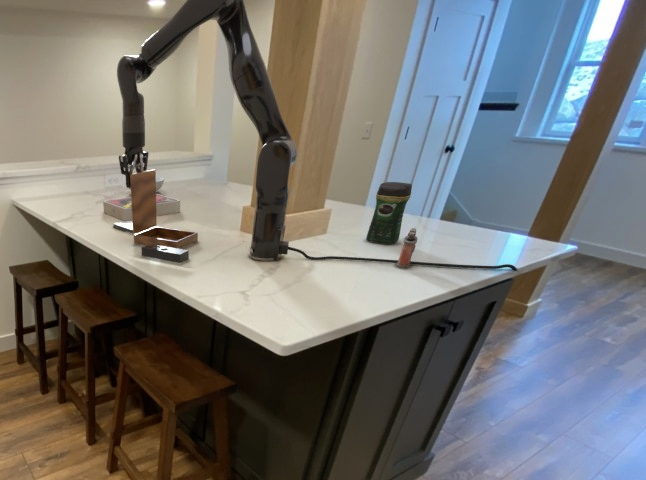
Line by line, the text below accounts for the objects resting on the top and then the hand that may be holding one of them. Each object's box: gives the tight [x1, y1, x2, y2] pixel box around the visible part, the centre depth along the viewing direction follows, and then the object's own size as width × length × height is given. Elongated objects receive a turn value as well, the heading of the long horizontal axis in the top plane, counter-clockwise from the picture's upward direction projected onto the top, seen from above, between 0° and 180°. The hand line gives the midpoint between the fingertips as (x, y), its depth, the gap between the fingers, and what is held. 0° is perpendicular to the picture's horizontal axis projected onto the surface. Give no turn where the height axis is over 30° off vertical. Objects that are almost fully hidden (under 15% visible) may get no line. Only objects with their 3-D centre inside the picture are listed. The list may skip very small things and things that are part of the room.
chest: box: [133, 226, 199, 249], centre depth 158 cm, size 18×14×4 cm
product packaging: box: [102, 193, 181, 222], centre depth 203 cm, size 22×28×5 cm
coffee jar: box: [365, 181, 413, 245], centre depth 146 cm, size 10×8×19 cm
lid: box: [130, 169, 158, 235], centre depth 158 cm, size 19×14×5 cm
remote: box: [141, 244, 190, 264], centre depth 143 cm, size 15×5×4 cm, turn 52°
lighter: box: [396, 227, 419, 270], centre depth 128 cm, size 8×3×10 cm, turn 148°
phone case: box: [113, 220, 151, 234], centre depth 178 cm, size 9×2×16 cm
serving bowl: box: [128, 175, 165, 192], centre depth 244 cm, size 21×21×7 cm
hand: (134, 186), depth 156 cm, fingers closed on lid, 5 cm apart
